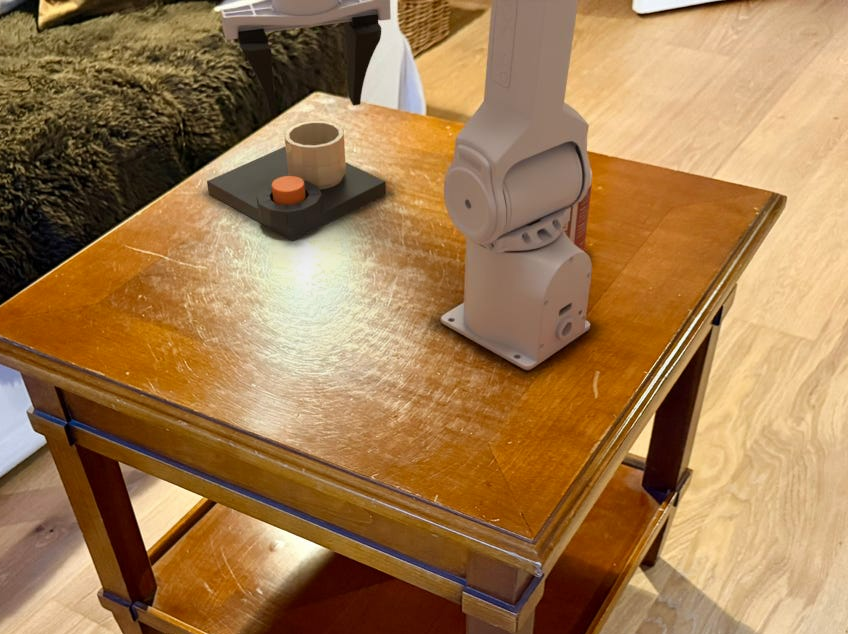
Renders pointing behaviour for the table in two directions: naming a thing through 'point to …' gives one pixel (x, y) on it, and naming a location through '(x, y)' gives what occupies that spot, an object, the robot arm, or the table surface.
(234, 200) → the scale
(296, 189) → the button
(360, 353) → the table surface
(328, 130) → the beige hollow cylinder
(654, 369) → the table surface
